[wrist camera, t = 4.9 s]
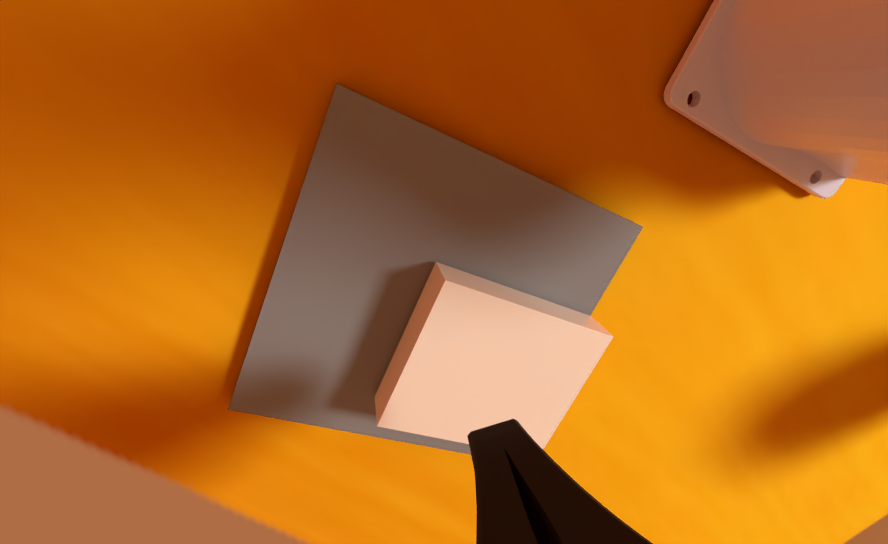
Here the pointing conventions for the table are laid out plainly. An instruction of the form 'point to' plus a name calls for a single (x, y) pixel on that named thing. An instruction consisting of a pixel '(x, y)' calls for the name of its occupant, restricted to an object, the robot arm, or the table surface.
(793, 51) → the robot arm
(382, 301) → the mat
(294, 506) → the table surface
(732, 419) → the table surface
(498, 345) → the block
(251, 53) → the table surface
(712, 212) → the table surface
